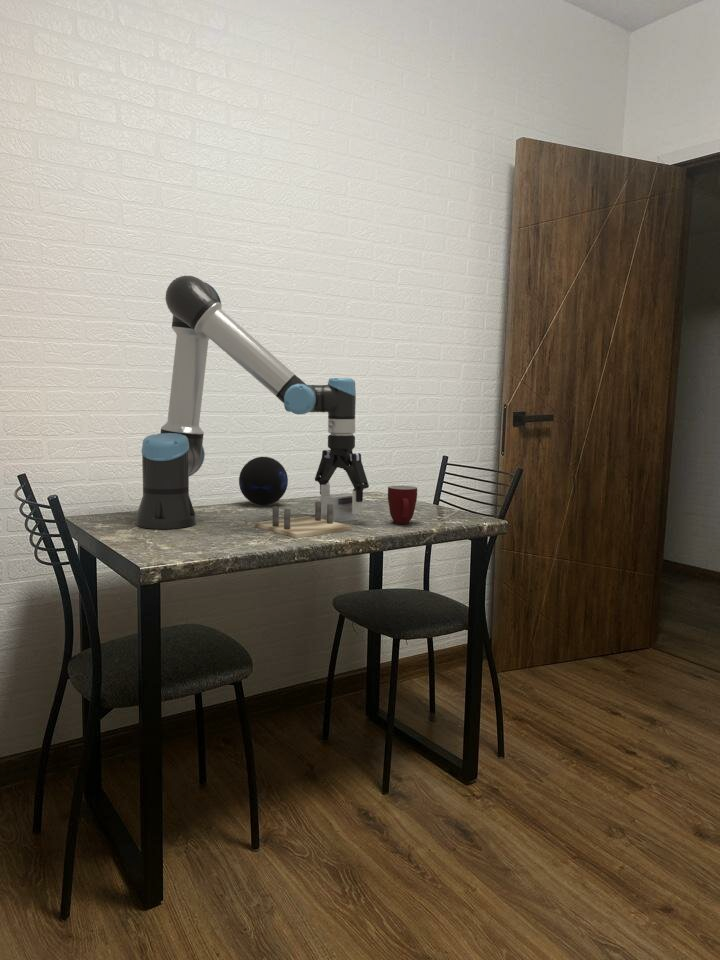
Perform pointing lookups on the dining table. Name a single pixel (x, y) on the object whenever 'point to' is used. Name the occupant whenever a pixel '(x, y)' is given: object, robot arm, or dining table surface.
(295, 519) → the wooden peg board
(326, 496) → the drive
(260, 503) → the decorative sphere
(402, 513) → the mug
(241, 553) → the dining table surface
